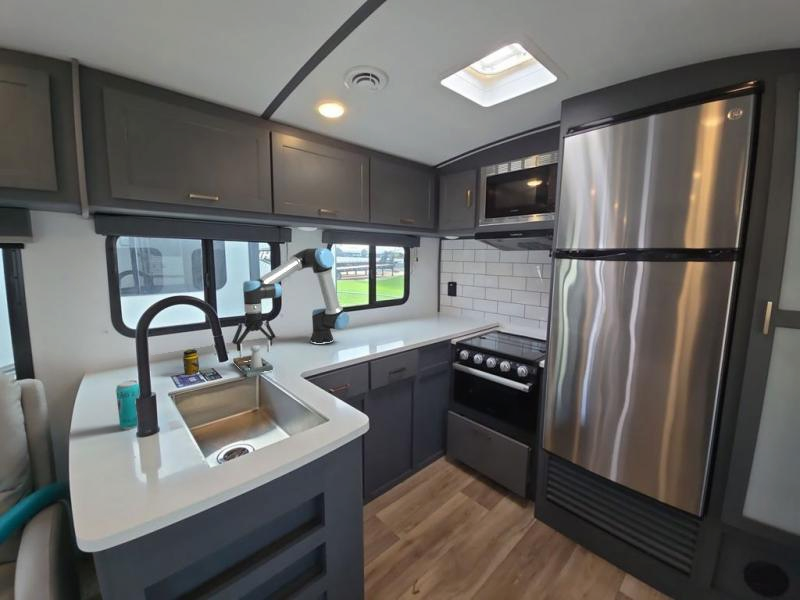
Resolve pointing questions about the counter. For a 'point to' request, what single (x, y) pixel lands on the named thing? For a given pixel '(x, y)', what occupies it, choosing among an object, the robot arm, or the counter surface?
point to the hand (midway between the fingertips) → (255, 354)
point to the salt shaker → (255, 357)
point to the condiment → (190, 362)
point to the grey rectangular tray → (246, 365)
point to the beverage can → (127, 403)
